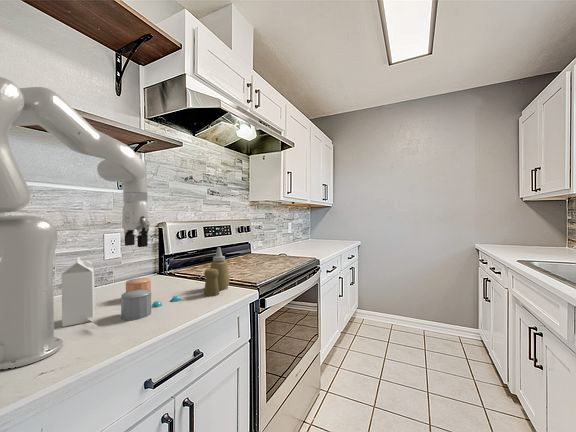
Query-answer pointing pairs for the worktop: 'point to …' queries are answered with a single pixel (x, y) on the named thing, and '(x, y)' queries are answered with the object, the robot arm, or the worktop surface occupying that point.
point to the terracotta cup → (138, 284)
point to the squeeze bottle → (221, 269)
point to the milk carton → (78, 293)
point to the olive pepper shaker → (211, 283)
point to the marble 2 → (175, 299)
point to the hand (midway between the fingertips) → (136, 245)
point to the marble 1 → (156, 304)
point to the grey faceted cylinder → (135, 304)
